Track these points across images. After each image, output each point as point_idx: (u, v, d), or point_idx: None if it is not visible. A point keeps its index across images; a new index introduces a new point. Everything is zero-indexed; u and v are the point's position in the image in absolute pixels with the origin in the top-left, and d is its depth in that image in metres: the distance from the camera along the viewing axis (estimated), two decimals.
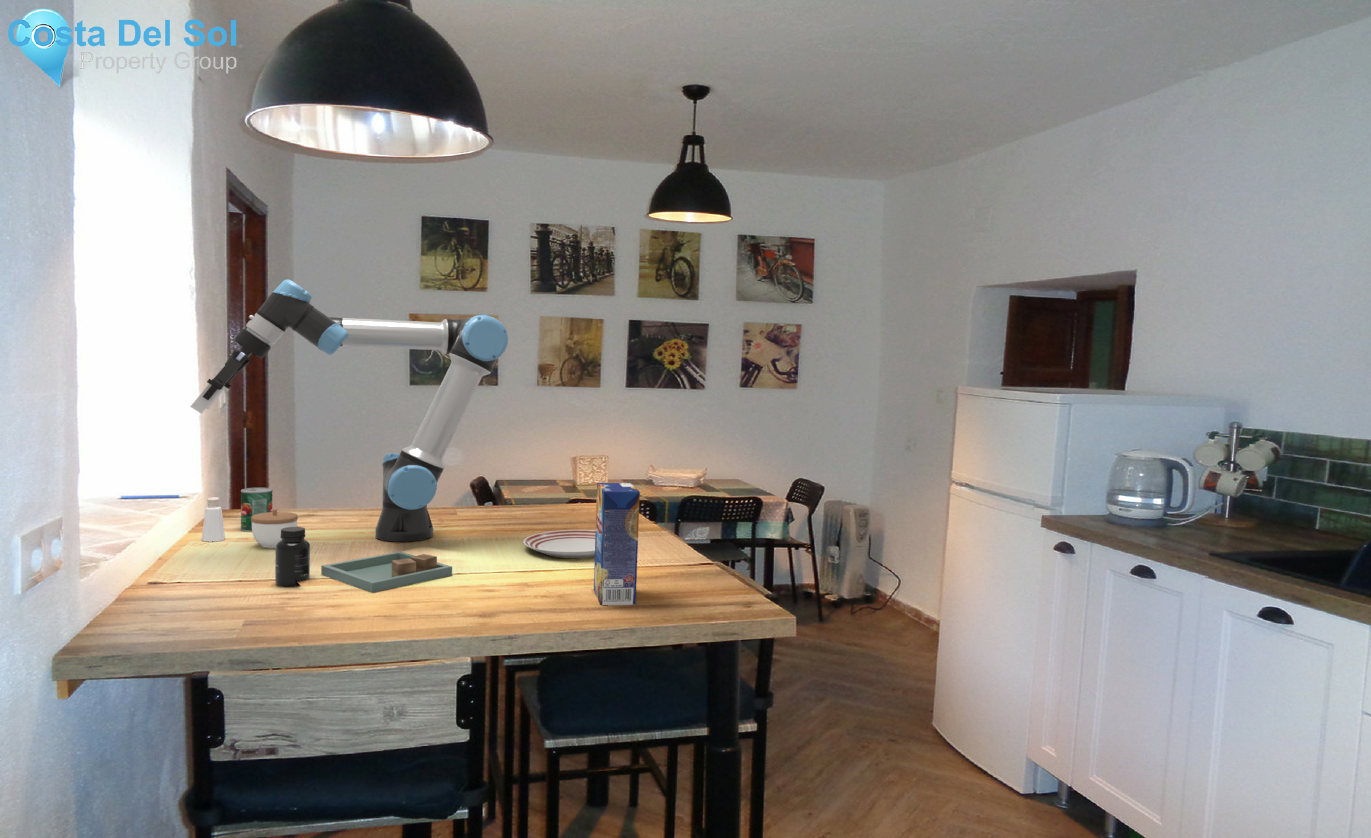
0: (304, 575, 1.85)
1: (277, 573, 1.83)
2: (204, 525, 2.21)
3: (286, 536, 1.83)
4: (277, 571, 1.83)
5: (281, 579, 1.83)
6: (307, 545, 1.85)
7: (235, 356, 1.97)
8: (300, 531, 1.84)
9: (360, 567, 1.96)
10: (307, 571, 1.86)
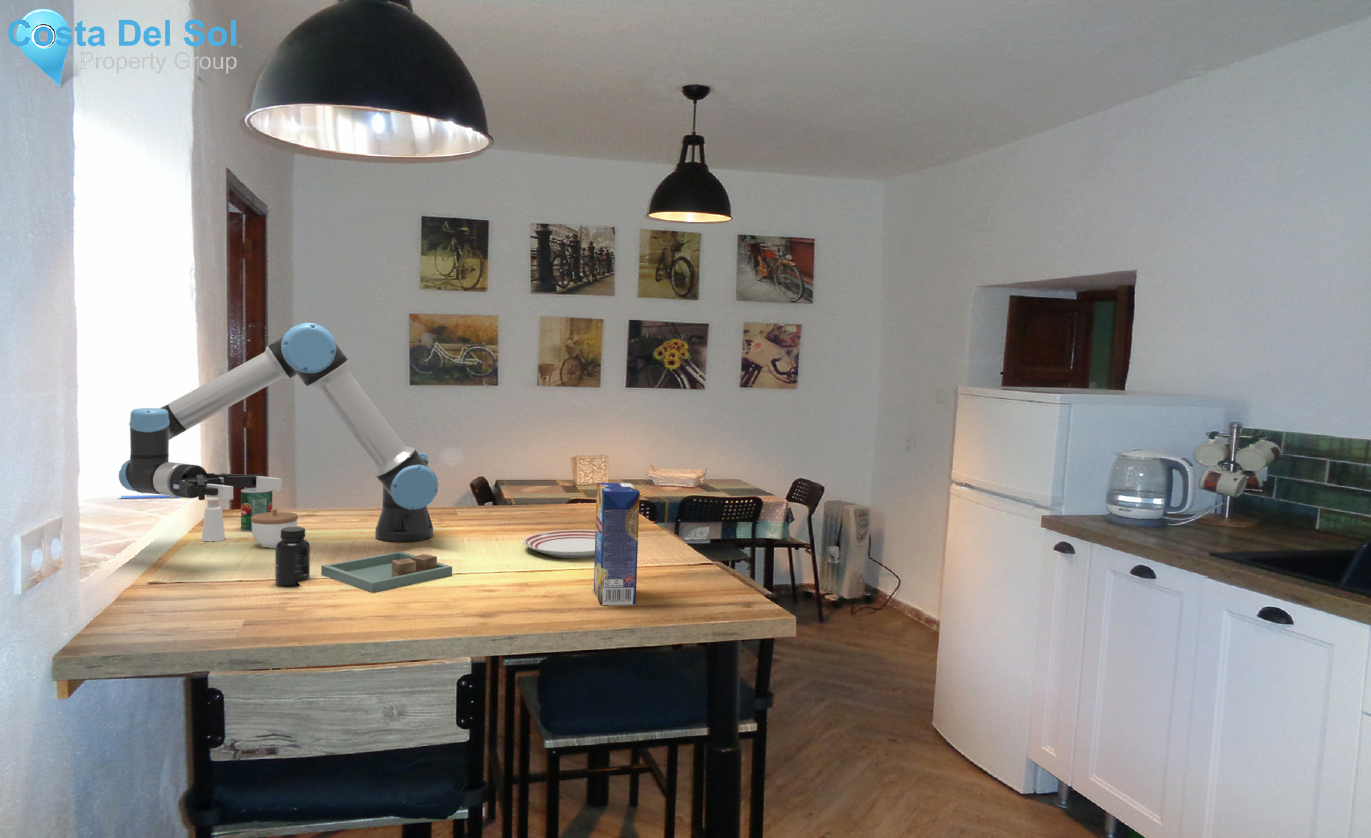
0: (304, 575, 1.85)
1: (277, 573, 1.83)
2: (204, 525, 2.21)
3: (286, 536, 1.83)
4: (277, 571, 1.83)
5: (281, 579, 1.83)
6: (307, 545, 1.85)
7: (177, 490, 1.86)
8: (300, 531, 1.84)
9: (360, 567, 1.96)
10: (307, 571, 1.86)
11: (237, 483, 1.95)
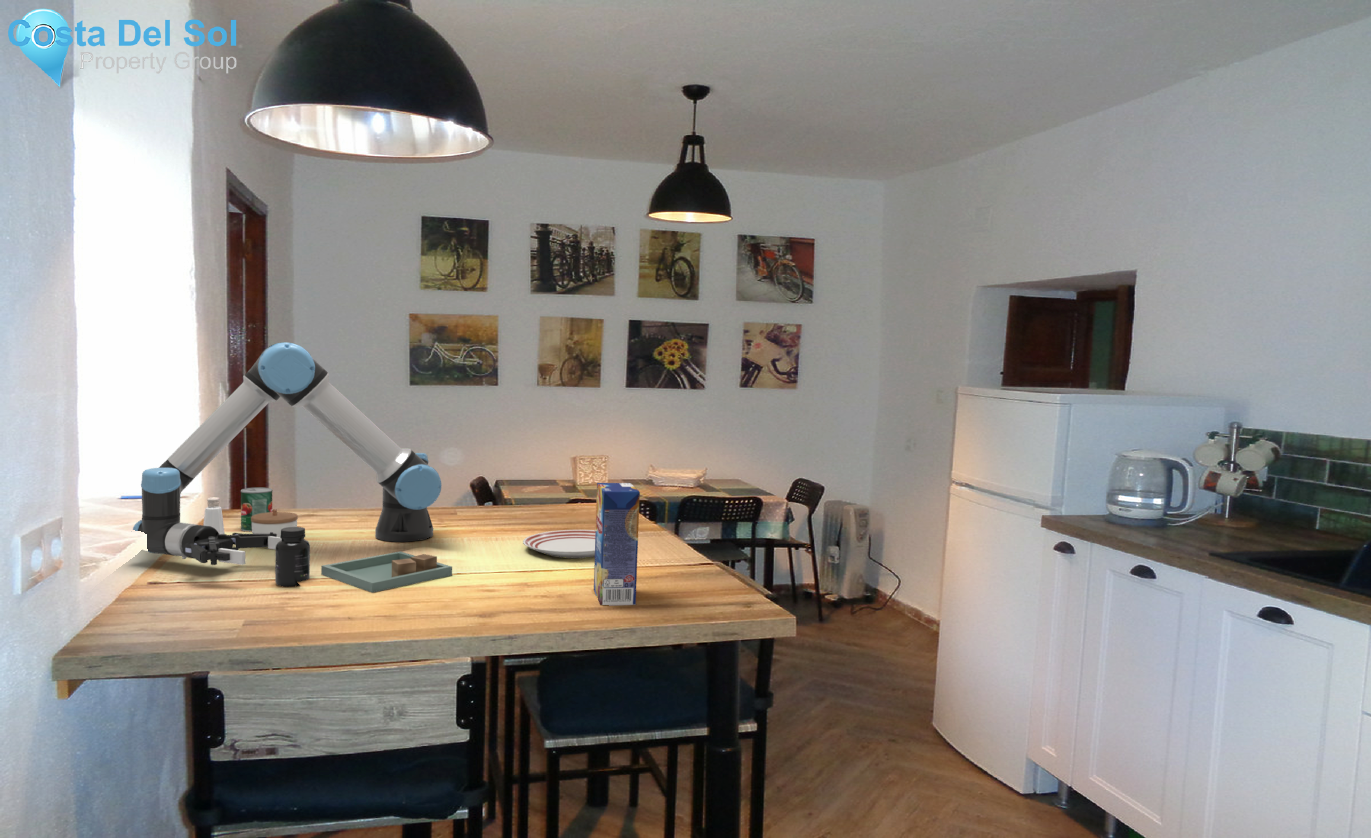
0: (304, 575, 1.85)
1: (277, 573, 1.83)
2: (204, 525, 2.21)
3: (286, 536, 1.83)
4: (277, 571, 1.83)
5: (281, 579, 1.83)
6: (307, 545, 1.85)
7: (189, 554, 1.85)
8: (300, 531, 1.84)
9: (360, 567, 1.96)
10: (307, 571, 1.86)
11: (249, 543, 1.94)
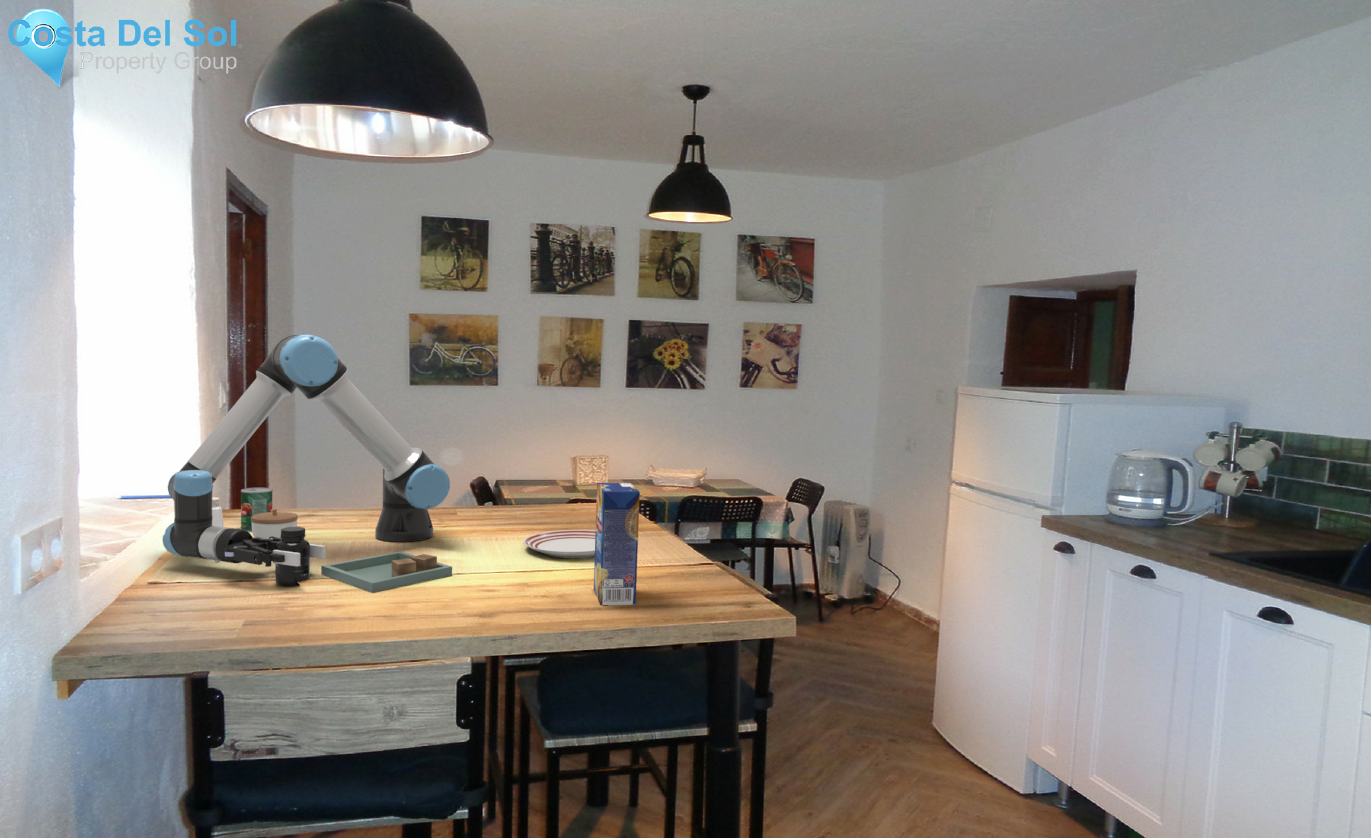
0: (304, 575, 1.85)
1: (277, 573, 1.83)
2: None
3: (286, 536, 1.83)
4: (277, 571, 1.83)
5: (281, 578, 1.83)
6: (307, 545, 1.85)
7: (231, 558, 1.83)
8: (300, 531, 1.84)
9: (360, 567, 1.96)
10: (307, 571, 1.86)
11: None
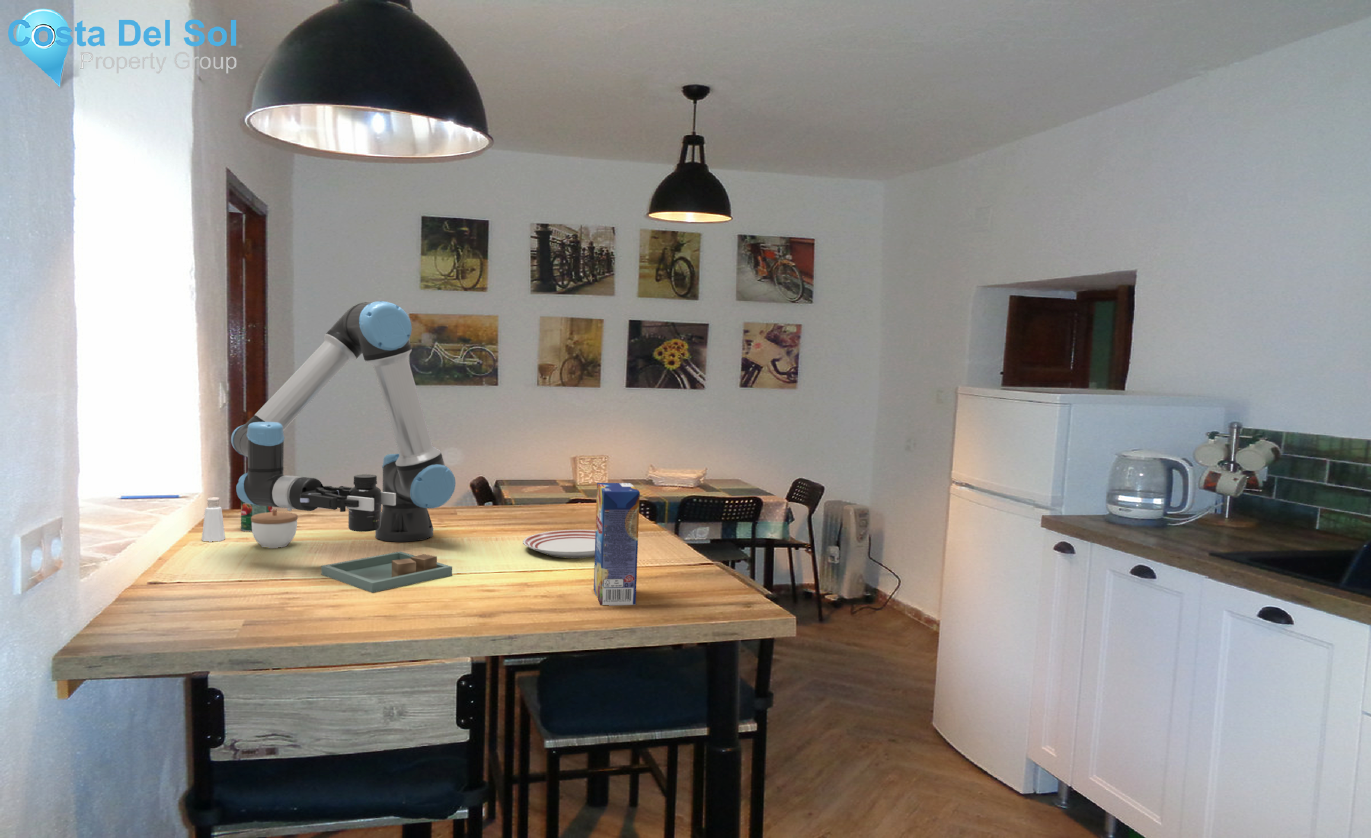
0: (376, 520, 1.90)
1: (350, 519, 1.88)
2: (204, 525, 2.21)
3: (359, 482, 1.88)
4: (351, 516, 1.88)
5: (354, 524, 1.88)
6: (379, 491, 1.90)
7: (306, 504, 1.88)
8: (372, 478, 1.89)
9: (360, 567, 1.96)
10: (379, 517, 1.90)
11: None
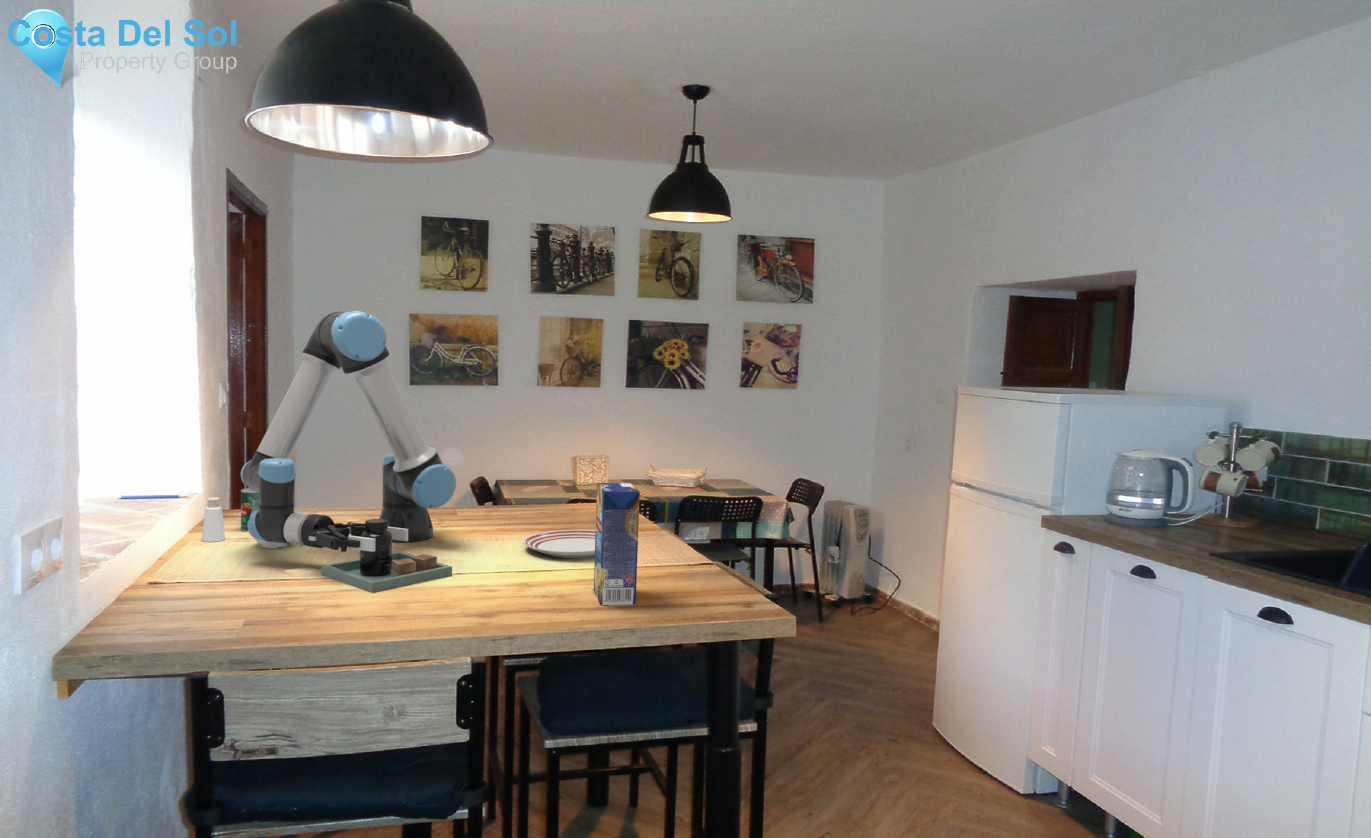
0: (387, 565, 1.92)
1: (362, 563, 1.90)
2: (204, 525, 2.21)
3: (371, 527, 1.90)
4: (362, 561, 1.90)
5: (366, 568, 1.90)
6: (390, 536, 1.92)
7: (314, 542, 1.89)
8: (384, 523, 1.91)
9: None
10: (390, 561, 1.93)
11: None
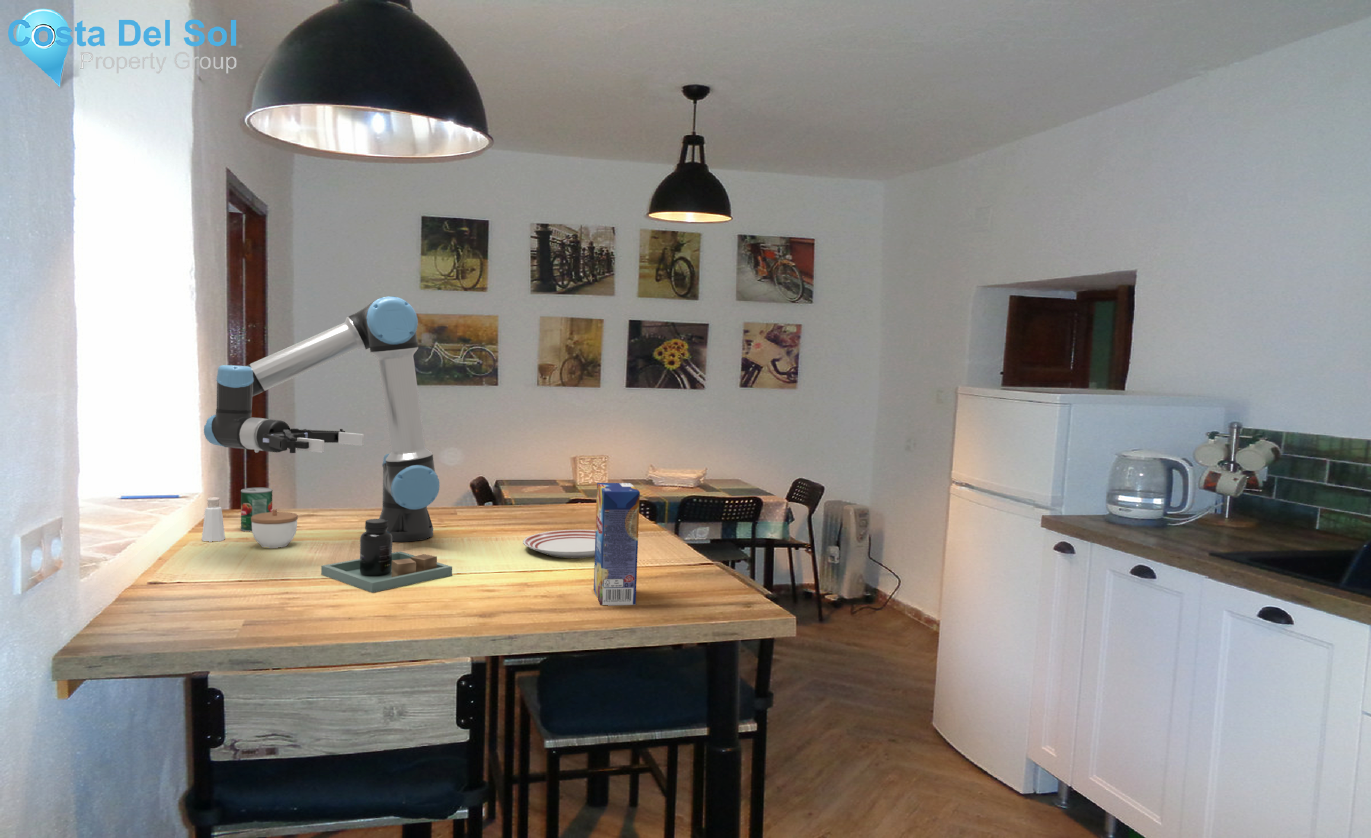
0: (387, 565, 1.92)
1: (362, 563, 1.90)
2: (204, 525, 2.21)
3: (371, 527, 1.90)
4: (362, 561, 1.90)
5: (366, 568, 1.90)
6: (390, 536, 1.92)
7: (267, 443, 1.92)
8: (384, 523, 1.91)
9: None
10: (390, 561, 1.93)
11: (320, 438, 2.02)
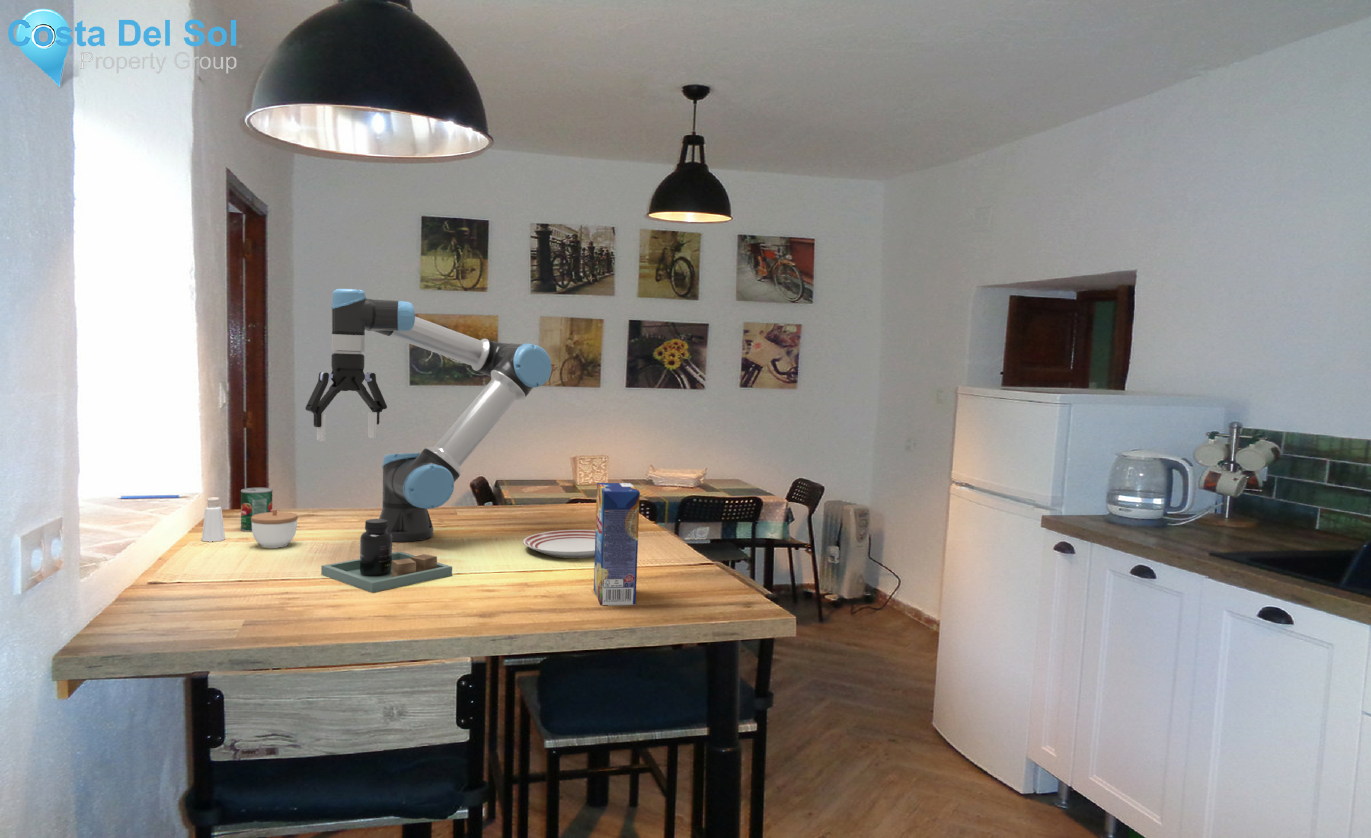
0: (387, 565, 1.92)
1: (362, 563, 1.90)
2: (204, 525, 2.21)
3: (371, 527, 1.90)
4: (362, 561, 1.90)
5: (366, 568, 1.90)
6: (390, 536, 1.92)
7: (319, 378, 2.05)
8: (384, 523, 1.91)
9: None
10: (390, 561, 1.93)
11: (364, 398, 2.14)
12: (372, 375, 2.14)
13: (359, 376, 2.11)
